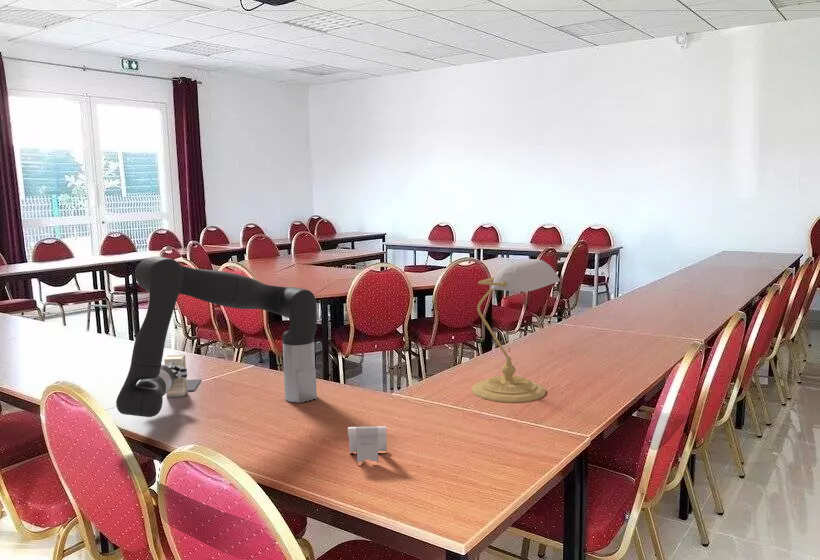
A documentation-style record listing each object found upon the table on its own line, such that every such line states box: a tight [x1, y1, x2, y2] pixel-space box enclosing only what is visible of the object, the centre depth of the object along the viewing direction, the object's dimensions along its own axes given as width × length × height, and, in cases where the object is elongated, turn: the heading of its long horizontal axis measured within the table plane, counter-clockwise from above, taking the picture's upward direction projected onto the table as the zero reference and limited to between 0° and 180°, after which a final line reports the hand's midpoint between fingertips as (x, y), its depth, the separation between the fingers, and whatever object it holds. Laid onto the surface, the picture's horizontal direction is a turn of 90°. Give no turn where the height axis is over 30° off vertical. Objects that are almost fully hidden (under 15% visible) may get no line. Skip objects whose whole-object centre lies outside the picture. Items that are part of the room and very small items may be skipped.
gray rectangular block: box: [187, 378, 202, 393], centre depth 208 cm, size 12×9×1 cm
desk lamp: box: [471, 258, 561, 404], centre depth 197 cm, size 31×23×40 cm
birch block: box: [163, 354, 188, 399], centre depth 199 cm, size 5×5×12 cm
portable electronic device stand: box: [347, 425, 388, 463], centre depth 150 cm, size 9×8×8 cm
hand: (171, 365), depth 194 cm, fingers closed
